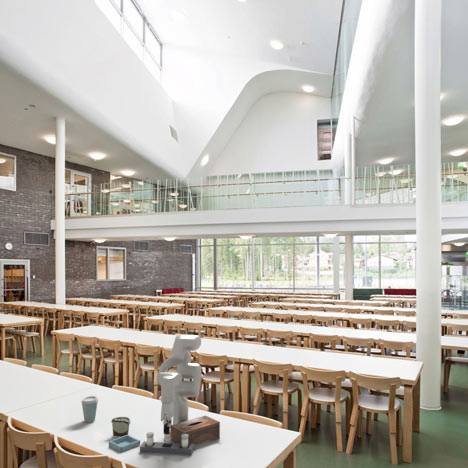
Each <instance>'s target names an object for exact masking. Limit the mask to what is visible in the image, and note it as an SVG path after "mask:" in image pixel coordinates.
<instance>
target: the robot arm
mask: <svg viewBox="0 0 468 468" xmlns="http://www.w3.org/2000/svg"><path fill="white" fill-rule="evenodd" d="M174 338H175V339H174V341H173V344H172V345H173V346H172V348H171V353H170V356H169V357H168V358H166V359H165V360H164V361H163V362H162V363H161V365H160V367H159V369H158V371H157V374H156V375H157V376H156V383H157V384H158V385H159V386H160V388H161V390H160V402H161V411H160V422H162V423H163V435H164V434H169V423H171V430H172V425H174V424H177V423H181V422H184V421H188V420H189V402H188V399H187V397H189V398H195V397H198V396H199V394H200V389H201V379H202V367H201V365H200V364H199V363H194V362H193V363H192V362H191V361H192V354H191V353H190V351H191V352H194V351H197V350H198V349H200V347H201V344H202V338H201V336H200V335H197V334H196V335H195V334H194V335H193V334H179V335H177V336H175V337H174ZM173 367H176V371H175V372H172V371H167V370H169V369H170V368H173ZM167 423H168V424H167Z"/></svg>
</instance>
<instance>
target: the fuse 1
mask: <svg viewBox="0 0 468 468" xmlns="http://www.w3.org/2000/svg"><path fill="white" fill-rule="evenodd" d="M154 435H155V434H154V432H153V431H148V432H146V442H147V446H149V447H153V442H154Z"/></svg>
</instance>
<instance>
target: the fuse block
mask: <svg viewBox="0 0 468 468" xmlns="http://www.w3.org/2000/svg"><path fill="white" fill-rule="evenodd" d="M194 451H195V445H194V444H188V448H182V443H174V442H164V441H161V442H160V441H153V447H149V446H147V441H143V443H142V444H140V445H139V453H140V454H141V453H143V454H160V455H161V454H162V455H181V456H182V455H183V456H192V455H193V453H194Z"/></svg>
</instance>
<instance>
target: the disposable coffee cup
mask: <svg viewBox="0 0 468 468" xmlns="http://www.w3.org/2000/svg"><path fill="white" fill-rule="evenodd" d="M98 401H99V398H98V397H97V396H96V395H91V396H90V395H89V396H86V397H84V398H82V400H81V406H82V414H83V420H84V422H85V423H87V422H88V423H93V422H95V420H96V416H97V408H98Z"/></svg>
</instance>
